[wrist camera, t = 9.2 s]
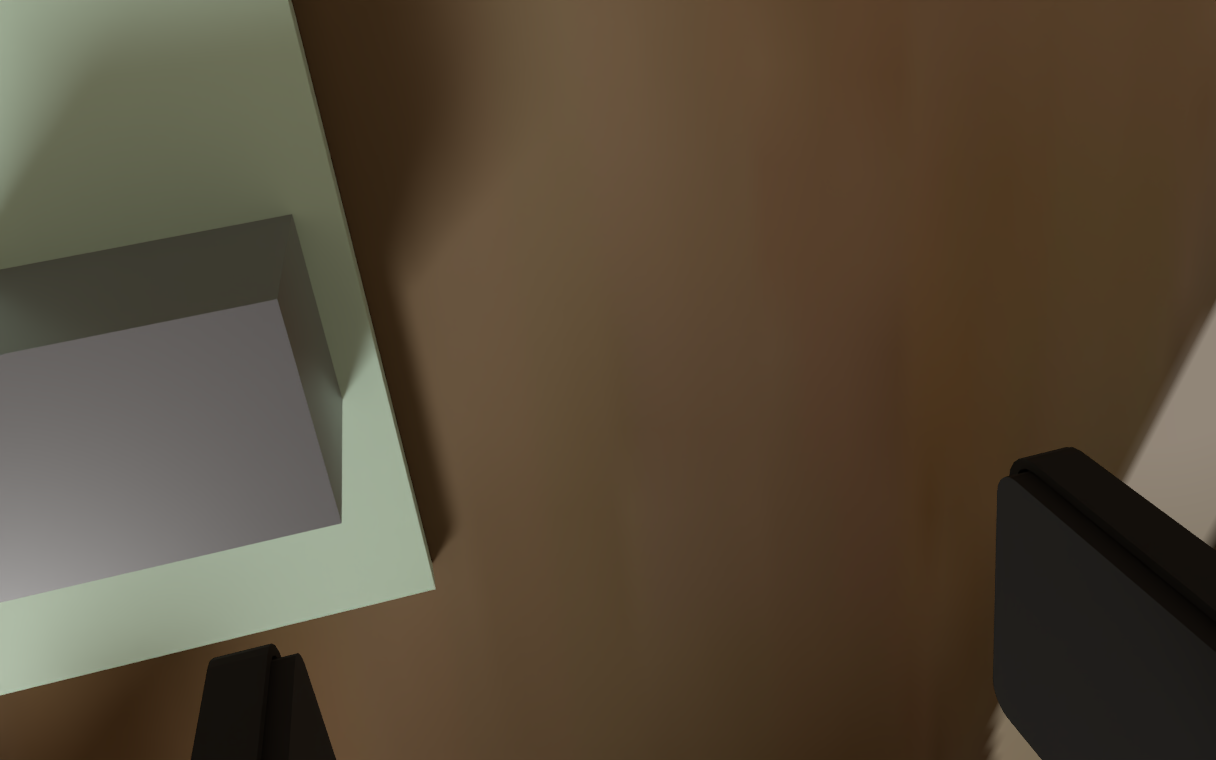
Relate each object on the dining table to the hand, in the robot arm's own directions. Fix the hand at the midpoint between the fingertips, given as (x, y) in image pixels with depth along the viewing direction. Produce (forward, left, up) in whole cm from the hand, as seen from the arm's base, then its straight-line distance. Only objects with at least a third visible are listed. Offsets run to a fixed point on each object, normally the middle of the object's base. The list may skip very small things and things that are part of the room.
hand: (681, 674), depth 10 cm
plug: (0, +7, -13) cm, 14 cm away
